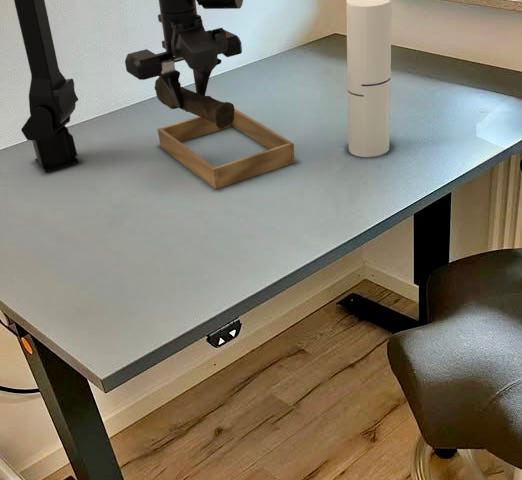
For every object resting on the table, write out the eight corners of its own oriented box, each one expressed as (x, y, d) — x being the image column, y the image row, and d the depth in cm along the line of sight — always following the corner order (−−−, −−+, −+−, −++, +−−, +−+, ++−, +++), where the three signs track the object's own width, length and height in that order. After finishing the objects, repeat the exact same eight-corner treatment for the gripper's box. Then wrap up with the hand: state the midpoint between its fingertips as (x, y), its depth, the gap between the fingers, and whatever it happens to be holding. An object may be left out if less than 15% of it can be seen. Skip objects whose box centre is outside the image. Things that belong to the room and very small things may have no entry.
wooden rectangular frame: (215, 189, 133) (213, 169, 131) (160, 147, 149) (157, 128, 147) (295, 162, 139) (294, 143, 137) (233, 124, 155) (231, 106, 152)
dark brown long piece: (237, 123, 130) (234, 95, 127) (218, 131, 129) (215, 104, 126) (171, 95, 142) (166, 69, 139) (152, 102, 140) (148, 77, 137)
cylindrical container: (387, 157, 137) (390, 5, 122) (346, 156, 139) (343, 7, 124) (390, 140, 143) (393, -8, 127) (351, 139, 144) (348, -6, 129)
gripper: (145, 33, 115) (161, 135, 125) (255, 6, 122) (262, 104, 132) (115, 17, 123) (133, 114, 133) (220, -8, 130) (229, 86, 140)
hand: (190, 105), depth 134 cm, fingers closed on dark brown long piece, 3 cm apart
